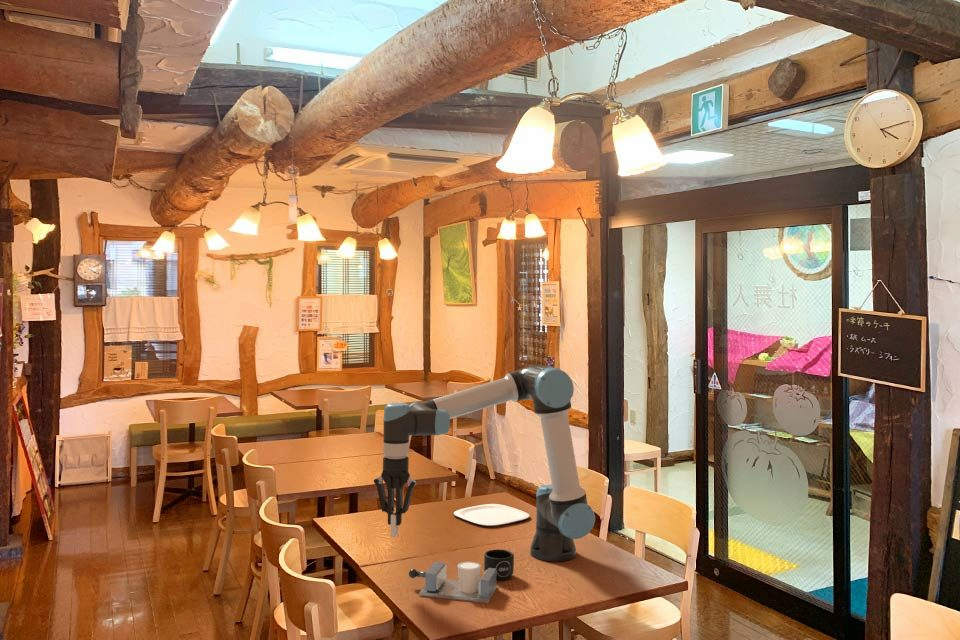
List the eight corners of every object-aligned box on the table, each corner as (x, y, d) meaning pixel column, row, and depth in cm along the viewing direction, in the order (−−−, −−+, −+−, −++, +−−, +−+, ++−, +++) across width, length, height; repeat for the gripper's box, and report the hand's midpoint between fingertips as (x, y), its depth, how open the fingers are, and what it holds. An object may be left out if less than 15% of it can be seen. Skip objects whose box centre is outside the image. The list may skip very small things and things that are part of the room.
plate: (495, 505, 321) (495, 501, 321) (537, 519, 301) (537, 515, 301) (445, 515, 305) (445, 511, 305) (487, 531, 285) (487, 527, 285)
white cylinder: (478, 594, 222) (478, 570, 221) (454, 592, 223) (454, 568, 223) (482, 585, 228) (483, 562, 228) (459, 583, 230) (460, 560, 229)
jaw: (446, 579, 232) (447, 562, 232) (437, 591, 222) (437, 574, 222) (414, 575, 235) (414, 559, 234) (403, 588, 225) (403, 570, 225)
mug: (517, 580, 236) (518, 557, 236) (489, 583, 233) (489, 560, 233) (504, 567, 247) (504, 545, 247) (477, 570, 244) (477, 547, 244)
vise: (496, 587, 230) (497, 567, 230) (487, 603, 218) (488, 581, 218) (431, 580, 234) (431, 561, 234) (419, 595, 223) (419, 574, 222)
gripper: (420, 455, 232) (419, 534, 232) (379, 452, 235) (377, 530, 235) (413, 460, 224) (411, 541, 225) (370, 457, 227) (368, 537, 228)
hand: (394, 535), depth 230 cm, fingers closed
